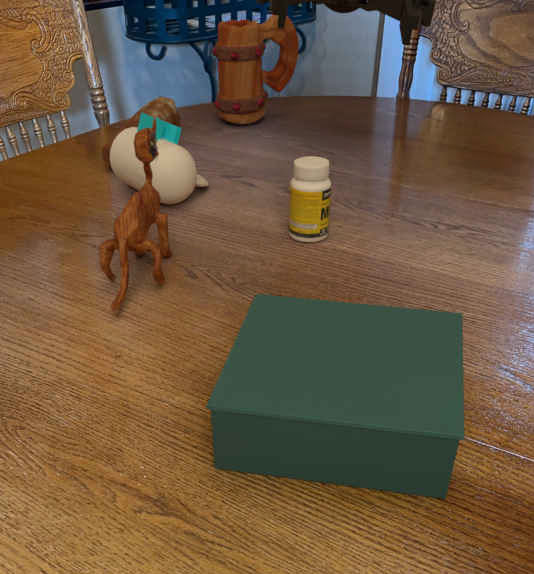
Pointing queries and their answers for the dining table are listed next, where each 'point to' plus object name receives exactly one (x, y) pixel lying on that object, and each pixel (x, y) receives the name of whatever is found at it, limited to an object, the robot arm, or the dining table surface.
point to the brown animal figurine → (138, 222)
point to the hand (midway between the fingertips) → (345, 22)
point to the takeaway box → (342, 395)
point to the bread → (154, 108)
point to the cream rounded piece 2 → (157, 162)
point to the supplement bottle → (310, 199)
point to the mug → (251, 66)
